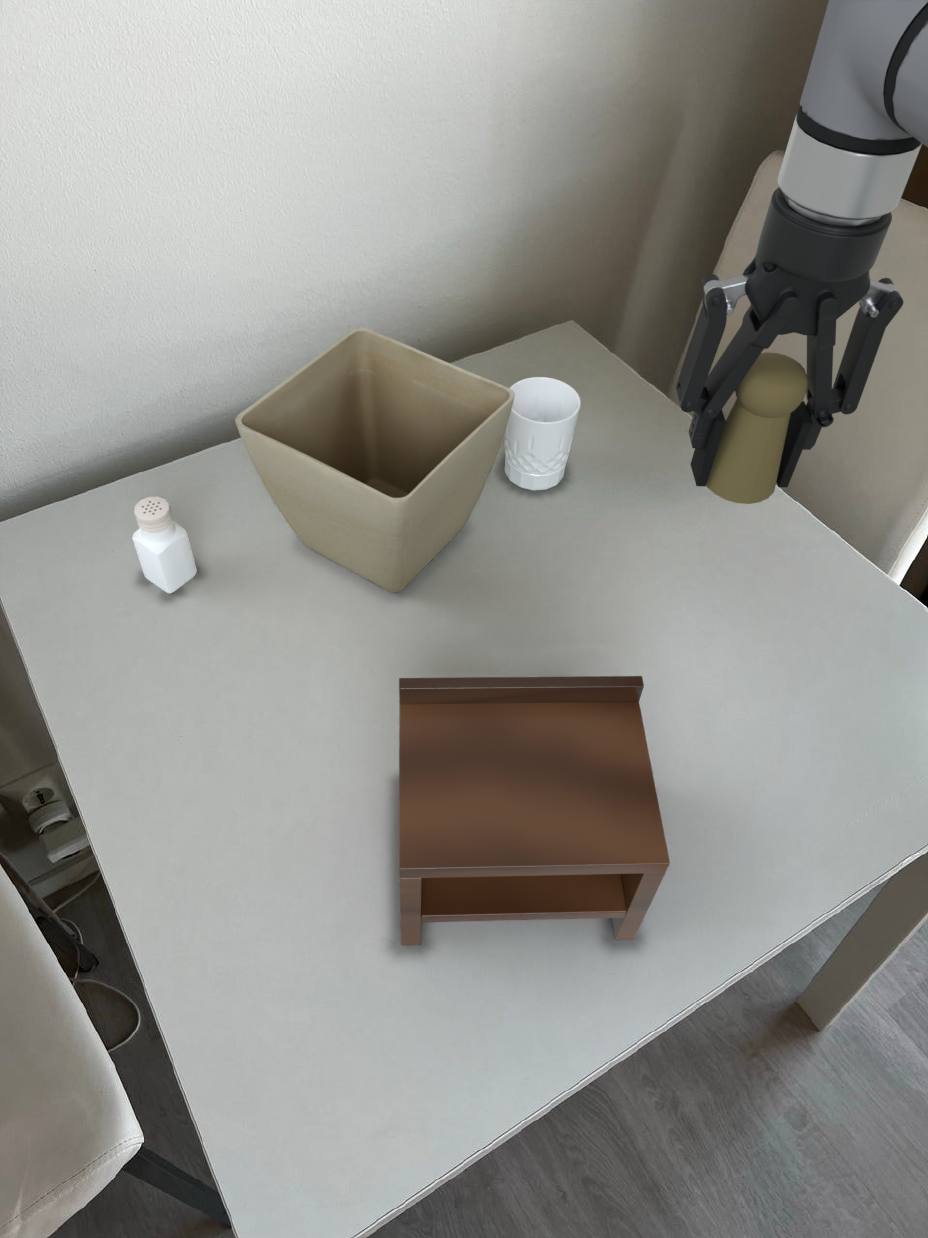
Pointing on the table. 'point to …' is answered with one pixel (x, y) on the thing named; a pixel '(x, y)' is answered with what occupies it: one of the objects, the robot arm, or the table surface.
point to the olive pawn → (757, 430)
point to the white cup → (540, 432)
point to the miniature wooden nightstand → (526, 802)
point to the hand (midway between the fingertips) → (738, 475)
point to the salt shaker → (162, 545)
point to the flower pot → (377, 452)
